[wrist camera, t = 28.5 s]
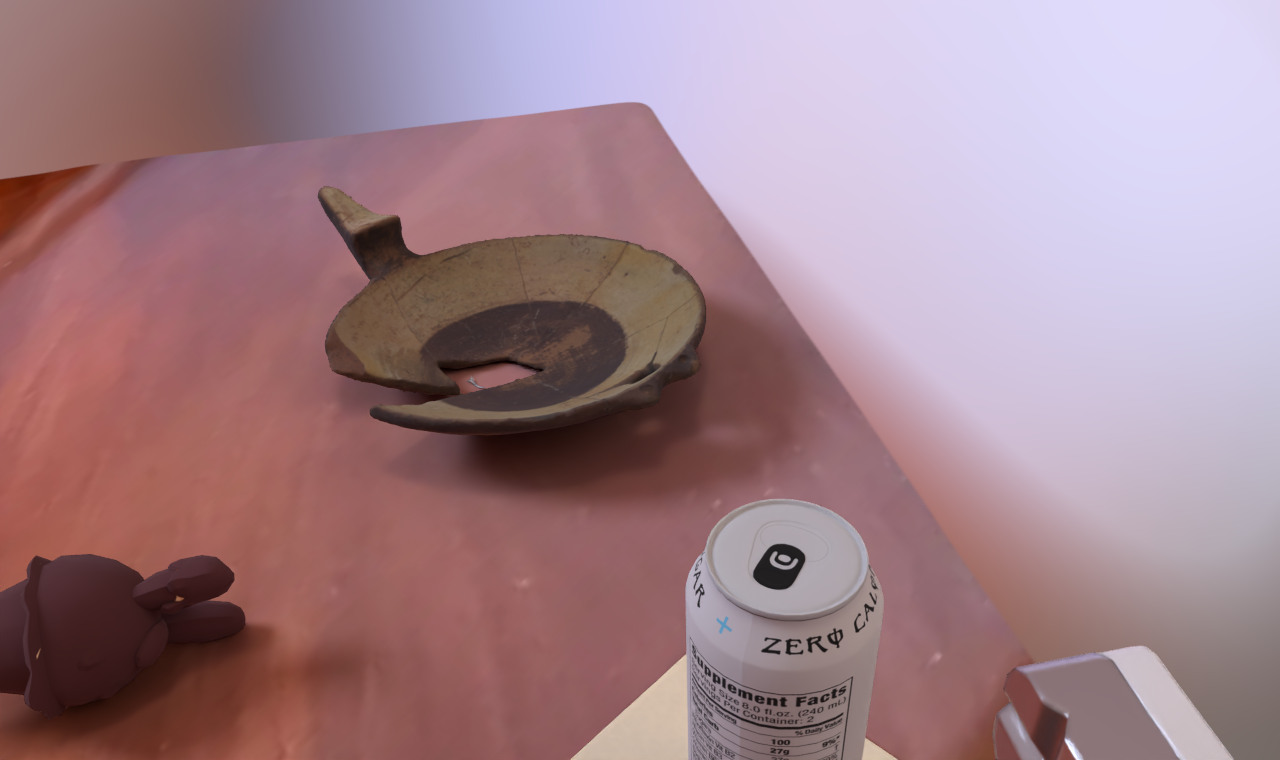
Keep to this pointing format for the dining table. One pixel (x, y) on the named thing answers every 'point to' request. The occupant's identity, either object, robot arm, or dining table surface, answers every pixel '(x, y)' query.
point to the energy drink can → (781, 636)
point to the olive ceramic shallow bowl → (512, 325)
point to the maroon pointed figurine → (103, 624)
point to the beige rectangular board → (662, 726)
